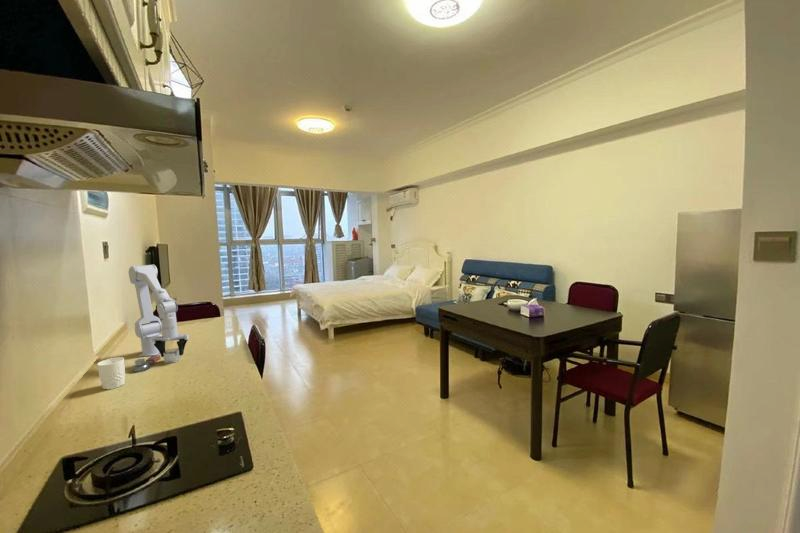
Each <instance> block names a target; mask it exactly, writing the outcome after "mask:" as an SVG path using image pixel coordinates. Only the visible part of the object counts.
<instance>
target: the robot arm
mask: <svg viewBox="0 0 800 533" xmlns="http://www.w3.org/2000/svg"><path fill="white" fill-rule="evenodd" d="M158 273H159V271H158V268H157V266H156V265H155V264H153V263H152V264H145V265H135V266H133V265H131V266H130V267H129V269H128V278H129V282H130V284H133V285H134V287H135V292H136V298H137V303H138V309H139V314H140V318H138V319H137V321H135V323H134V333H135V335H136V337H137V338H139V339H140V343H141V351H142V352H141V353H140V354H139V355H138V356H137V357H138V358H139V357H151V356H156V355H160V358H164V352H165V351H166V349H167V347H166V342H167V341H176V345H177V348H179V355H180V356H181V357H182V356H183V355H184V351H185V349H186V346H187V345H186V344H187V342H188V340H189V339H190V336H189V334H183V333H182V334H181V333H180V334H179V333H178V332H179V331H178V322H177V321H178V320H177V312H178V310H179V306H178V303H177V300H175V299H174V298H171V297H170V295H169V294H168V291H167V290H166V289H165V288H162V286H161V284H160V282H159V280H158ZM150 290H151V291H152V293H151V295H150ZM151 297H152V298H151ZM151 299H153V300H154V303H155V304H156V310H157V313H158V316H156V315H154V311H153V306H152V300H151ZM161 333H162V334H161Z"/></svg>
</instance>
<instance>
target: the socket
mask: <svg viewBox="0 0 800 533" xmlns="http://www.w3.org/2000/svg"><path fill="white" fill-rule="evenodd" d="M181 359H182V355H181V356H180V355H179V348H178V347H177V348H168V349H167V350H165V352H164V357H163V360H164V364H172V363H173V364H174V363H177V362H179V361H180V360H181Z"/></svg>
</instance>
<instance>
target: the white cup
mask: <svg viewBox="0 0 800 533" xmlns="http://www.w3.org/2000/svg"><path fill="white" fill-rule="evenodd" d="M125 363H126V362H125V357H111V358H108V359H104V360H101V361H98V362H97V365H96V366H97V370H98V371H97V372H98V377H99V381H100V384H101V389H102V388H103V389H102V390H104V389H107V390H113V389H117V388H120V387H122V386H125V383H126V367H125Z"/></svg>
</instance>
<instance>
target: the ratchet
mask: <svg viewBox="0 0 800 533" xmlns="http://www.w3.org/2000/svg"><path fill="white" fill-rule="evenodd" d="M160 360H161V354H157V355H154V356H149V357H148V358H147V359H145V358H138V359H136V360H134V365H132V366H131V373H133V374H134V373H135V374H136V373H142V372H146V371H148V370H149V369H150V367H151V366H152V365H154V364H155V363H157V362H158V361H160Z"/></svg>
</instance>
